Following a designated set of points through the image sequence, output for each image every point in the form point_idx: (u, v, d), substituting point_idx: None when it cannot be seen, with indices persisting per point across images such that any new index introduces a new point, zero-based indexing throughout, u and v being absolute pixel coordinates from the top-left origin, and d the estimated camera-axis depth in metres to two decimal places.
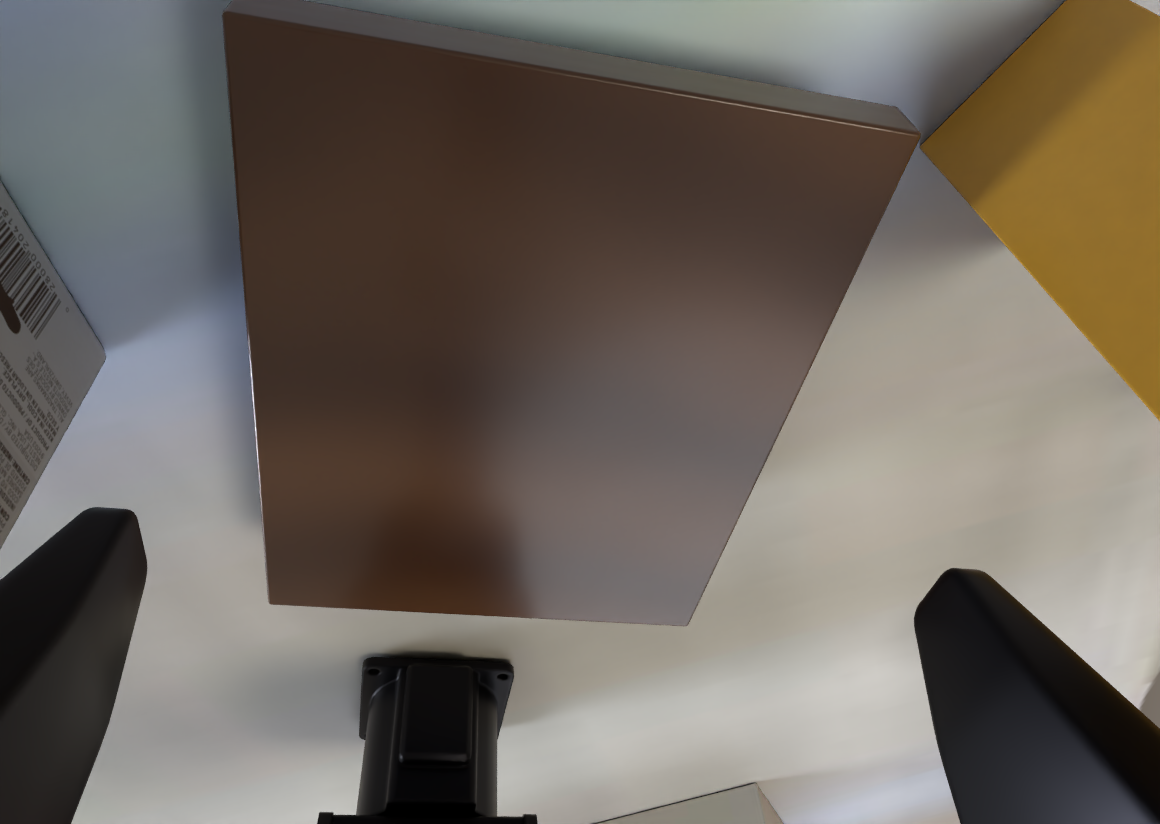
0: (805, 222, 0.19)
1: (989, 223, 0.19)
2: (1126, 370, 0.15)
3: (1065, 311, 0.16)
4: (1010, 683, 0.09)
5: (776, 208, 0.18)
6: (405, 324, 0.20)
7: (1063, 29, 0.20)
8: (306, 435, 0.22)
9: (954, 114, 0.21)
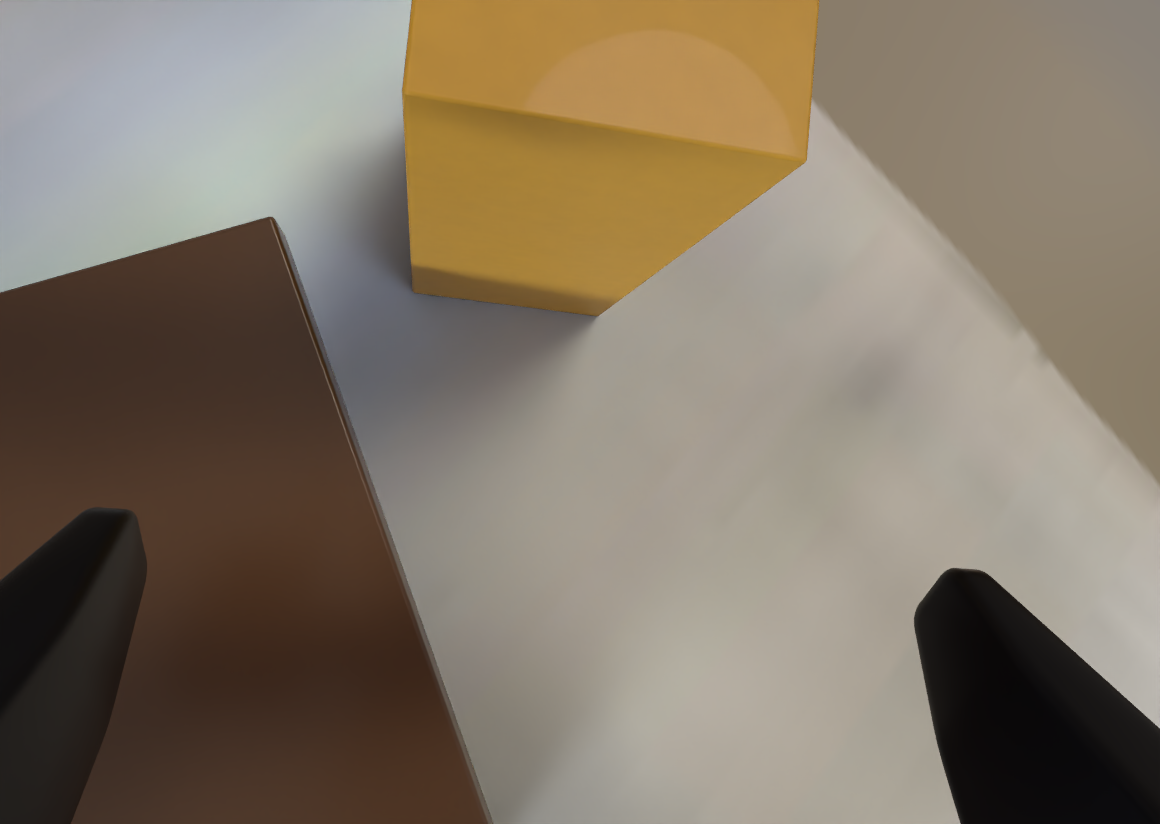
0: (226, 348, 0.17)
1: (410, 254, 0.18)
2: None
3: (409, 210, 0.14)
4: (1010, 683, 0.09)
5: (184, 349, 0.17)
6: None
7: None
8: None
9: None
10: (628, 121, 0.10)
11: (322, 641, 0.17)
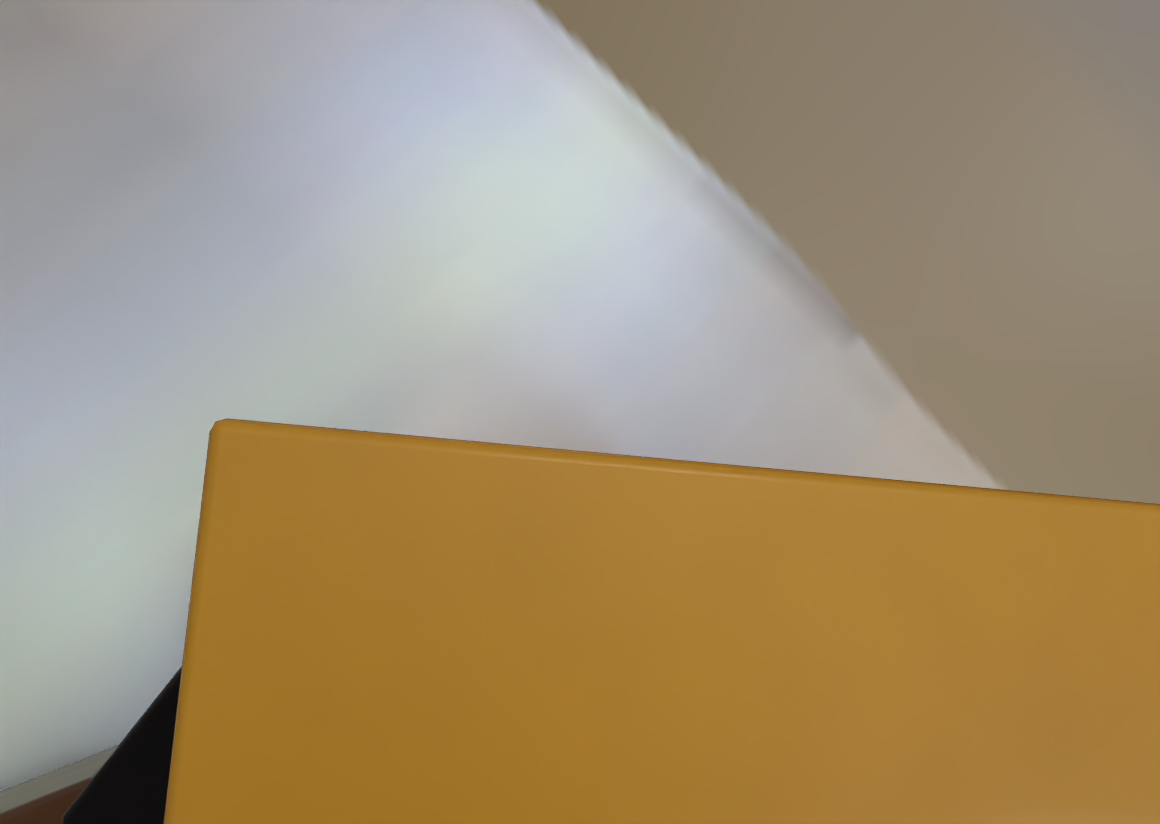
0: None
1: None
2: None
3: None
4: None
5: None
6: None
7: None
8: None
9: None
10: None
11: None
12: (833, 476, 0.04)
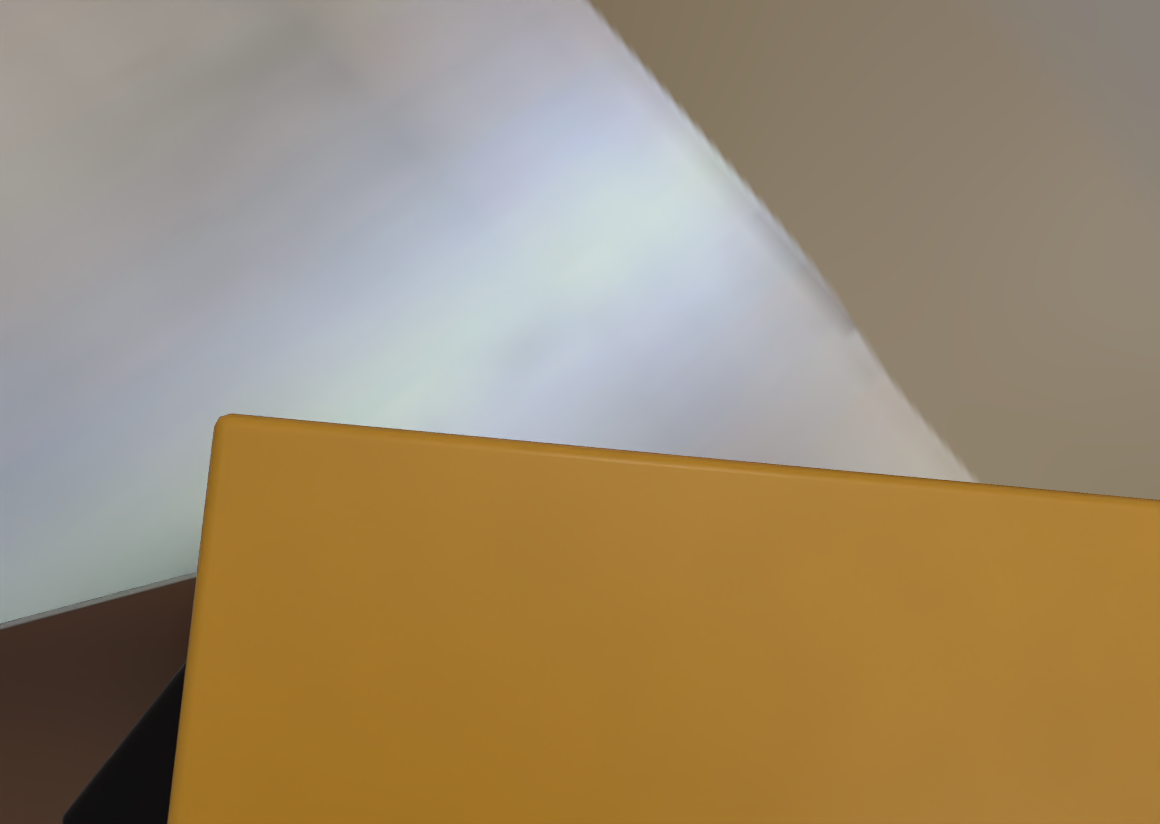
0: None
1: None
2: None
3: None
4: None
5: None
6: None
7: None
8: None
9: None
10: None
11: None
12: (836, 472, 0.04)
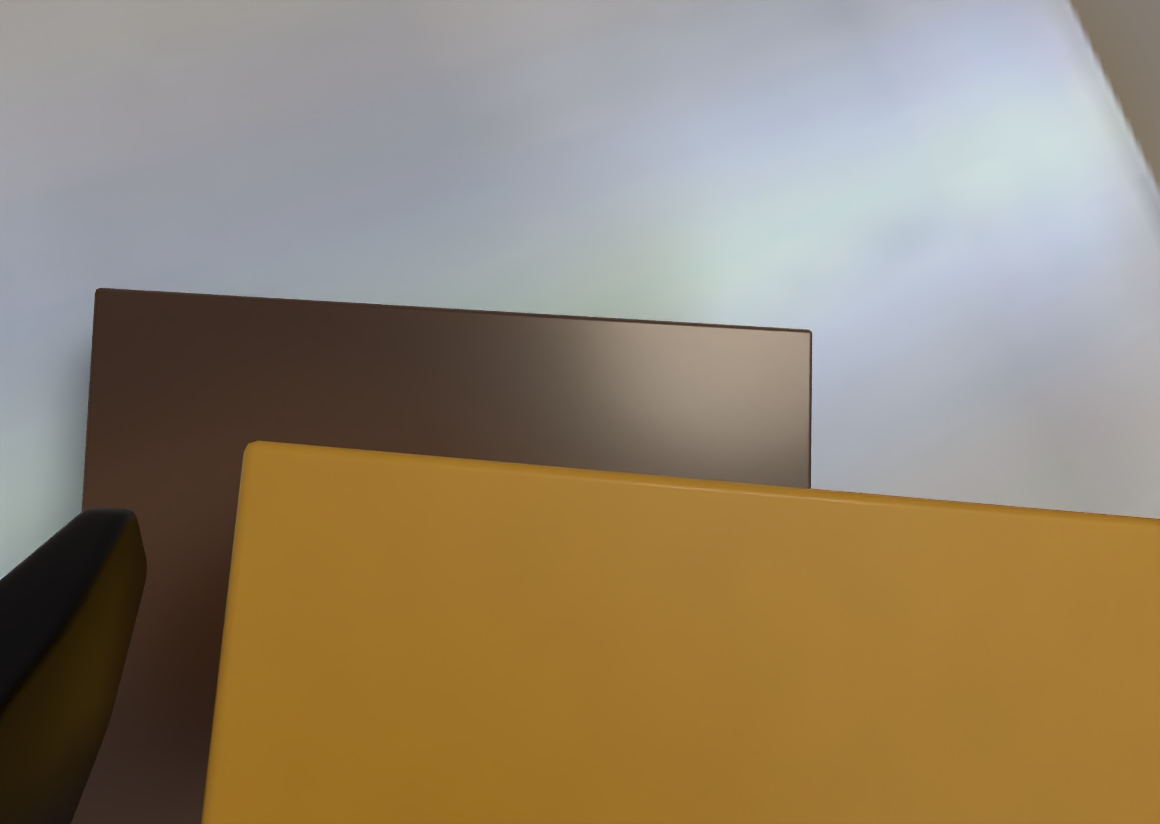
0: (734, 438, 0.17)
1: None
2: None
3: None
4: None
5: (698, 426, 0.17)
6: None
7: None
8: None
9: None
10: None
11: None
12: (783, 488, 0.04)
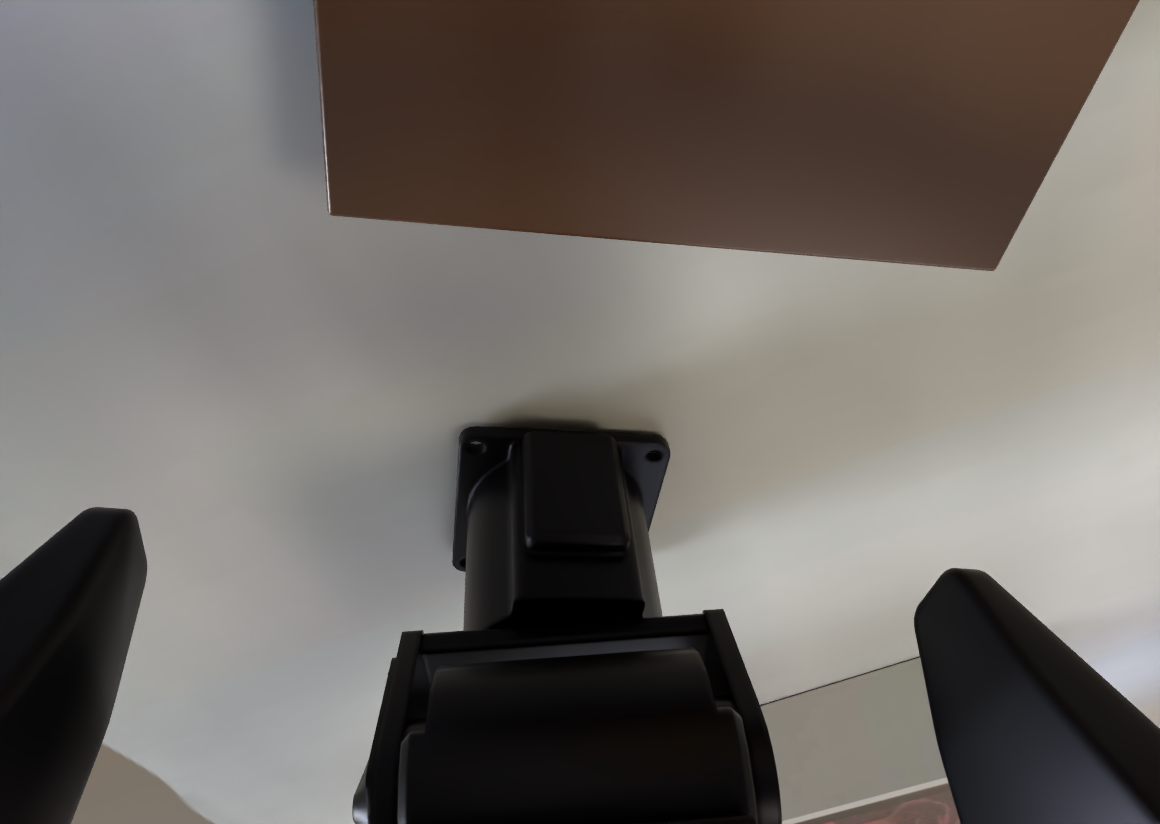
0: None
1: None
2: None
3: None
4: (1010, 683, 0.09)
5: None
6: None
7: None
8: None
9: None
10: None
11: None
12: None
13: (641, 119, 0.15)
